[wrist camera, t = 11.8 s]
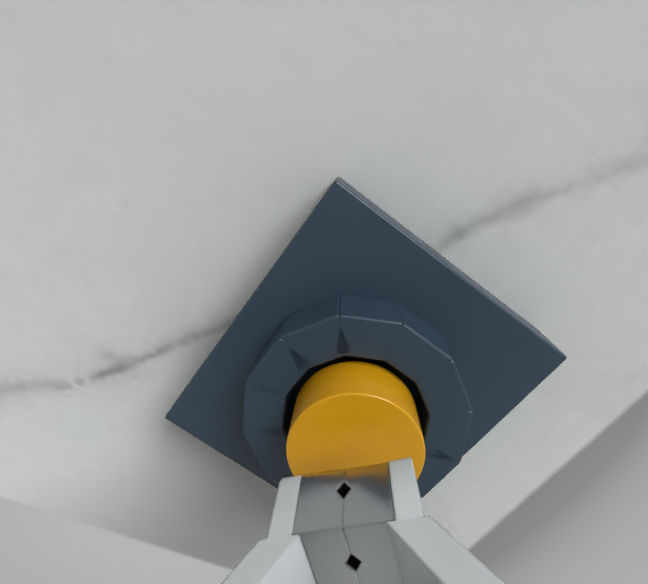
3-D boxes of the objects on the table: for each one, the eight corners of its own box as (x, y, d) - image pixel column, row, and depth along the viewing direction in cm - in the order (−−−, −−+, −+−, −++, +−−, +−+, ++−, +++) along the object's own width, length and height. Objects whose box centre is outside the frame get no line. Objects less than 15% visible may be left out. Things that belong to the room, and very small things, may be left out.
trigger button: (364, 484, 13) (366, 531, 12) (271, 422, 13) (259, 462, 11) (441, 406, 12) (455, 446, 11) (342, 336, 12) (341, 366, 10)
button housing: (366, 501, 18) (370, 594, 14) (187, 385, 17) (139, 452, 13) (538, 330, 15) (601, 389, 11) (338, 175, 14) (333, 183, 10)
